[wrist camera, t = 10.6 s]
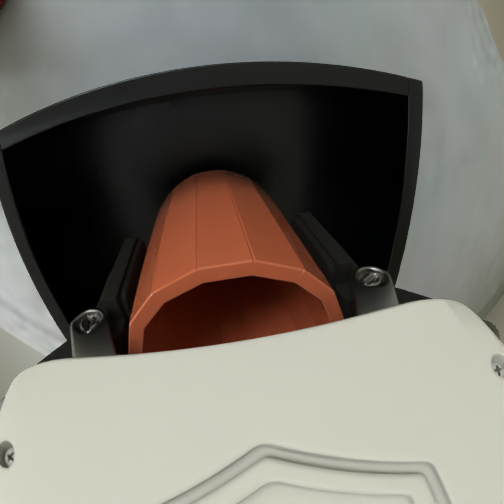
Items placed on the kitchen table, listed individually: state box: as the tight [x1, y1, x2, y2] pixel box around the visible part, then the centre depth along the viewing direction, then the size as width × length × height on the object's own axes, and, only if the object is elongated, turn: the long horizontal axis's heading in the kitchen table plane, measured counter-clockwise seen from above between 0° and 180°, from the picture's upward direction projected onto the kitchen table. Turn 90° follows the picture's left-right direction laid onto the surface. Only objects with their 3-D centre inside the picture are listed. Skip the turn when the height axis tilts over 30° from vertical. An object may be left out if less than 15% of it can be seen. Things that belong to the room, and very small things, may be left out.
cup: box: [128, 170, 344, 354], centre depth 11 cm, size 6×6×8 cm
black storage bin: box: [0, 61, 423, 341], centre depth 13 cm, size 17×15×7 cm
